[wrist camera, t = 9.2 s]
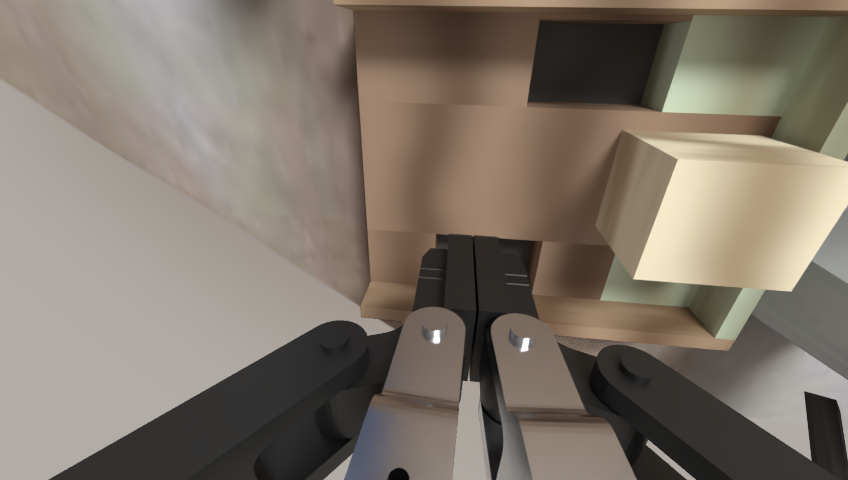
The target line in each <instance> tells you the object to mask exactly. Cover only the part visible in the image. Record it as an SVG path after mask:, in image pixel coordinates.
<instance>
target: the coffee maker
mask: <svg viewBox="0 0 848 480" xmlns="http://www.w3.org/2000/svg"><path fill="white" fill-rule="evenodd" d="M751 315H752V316H753V317H755V318H756V319H758V320H759V321H761V322H762V323H764V324H765V325H767V326H768V327H770V328H771V329H773V330H774V331H776V332H777V333H779V334H780V335H782V336H783V337H785V338H786V339H788V340H789V341H791V342H792V343H794V344H795V345H797V346H798V347H800V348H801V349H803V350H804V351H806V352H807V353H808V354H810V355H811V356H813V357H814V358H816V359H817V360H819V361H820V362H822V363H823V364H825V365H826V366H828V367H829V368H831V369H832V370H834V371H835V372H837V373H838V374H840V375H841V376H843V377H844V378H846V379H847V380H848V205H847V207H846V208H845V210H844V211H843V213H842V215H841V216H840V218H839V219H838V221H837V222H836V224H835V225H834V227H833V228H832V230H831V231H830V233H829V235H828V236H827V238H826V239H825V241H824V242H823V244H822V245H821V247H820V248H819V250H818V251H817V253H816V254H815V256H814V258H813V259H812V261H811V262H810V264H809V265H808V267H807V268H806V270H805V271H804V273H803V274H802V276H801V278H800V279H799V281H798V282H797V284H796V285H795V287H794V288H793V290H792V291H791V292H790V291H777V290H765V291H764V293H763V295H762V296H761V298H760V300H759V301H758V303H757V305H756V306H755V308H754V310H753V311H752V313H751ZM804 393H805V403H806V412H807V421H808V431H809V440H810V449H811V458H812V462H814V463H815V464H817V465H818V466H820V467H821V468H823V469H824V470H826V471H827V472H829V473H830V474H832V475H833V476H835V477H837V478H838V479H840V480H848V459H847V453H846V446H845V440H844V434H843V426H842V420H841V413H840V409H839V406H838V404H837V401H836V400H834V399H831V398H827V397H823V396H819V395H816V394H812V393H808V392H805V391H804Z"/></svg>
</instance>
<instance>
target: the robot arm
mask: <svg viewBox="0 0 848 480" xmlns="http://www.w3.org/2000/svg"><path fill="white" fill-rule="evenodd" d="M469 364H470V381H474V382H480V401H479V407H478V413H479V422H480V428H481V429H480V430H481V437H482V445H483V453H484V460H485V468H486V476H487V480H686V479H685V478H684V477H683V476H682V475H681V474H679V473H678V472H677V471H676V470H675V469H673V468H672V467H671V466H670V465H669V464H668V463H666V462H665V461H664V460H663V459H662V458H660V457H659V456H658V455H657V454H656V453H655V452H654V451H652V450H651V449H650V448H648V446H646V443H647V441H648V440H649V441H651V442H652V443H653V444H654V445H655V446H657V447H658V448H659V449H660V450H662V451H663V452H664V453H665V454H666V455H667V456H669V457H670V458H671V459H672V460H673V461H675V462H676V463H677V464H678V465H680V466H681V467H682V468H683V469H685V471H686V472H688V473H689V474H690V475H691V476H692V477H694V478H695V479H696V480H840V479H838V478H837V477H835V476H833V475H832V474H830V473H829V472H827V471H826V470H824V469H823V468H821V467H820V466H818V465H817V464H815V463H814V462H812V461H811V460H809V459H808V458H806V457H805V456H803V455H802V454H800V453H798V452H797V451H796V450H794V449H792V448H791V447H789V446H788V445H786V444H785V443H783V442H782V441H780V440H779V439H777V438H776V437H774V436H773V435H771V434H770V433H768V432H767V431H765V430H764V429H762V428H760V427H759V426H757V425H756V424H754V423H753V422H752V421H750V420H749V419H747V418H746V417H744V416H742V415H741V414H739V413H738V412H736V411H735V410H733V409H732V408H730V407H729V406H727V405H726V404H724V403H723V402H721V401H720V400H718V399H717V398H715V397H714V396H712V395H711V394H709V393H708V392H706V391H705V390H703V389H702V388H700V387H698V386H697V385H695V384H694V383H692V382H691V381H689V380H688V379H686V378H685V377H683V376H682V375H680V374H679V373H677V372H676V371H674V370H673V369H671V368H670V367H668V366H667V365H665V364H664V363H662V362H661V361H659V360H658V359H656V358H654V357H653V356H651V355H650V354H648V353H646V352H644V351H642V350H639V349H637V348H634V347H630V346H625V345H611V346H607V347H605V348H603V349H602V350H601V351H600V352H599V354H598V356H597V357H595V356H592V355H589V354H586V353H583V352H580V351H577V350H574V349H571V348H568V347H566V346H564V345H562V344H560V343H559V342H557V341H556V338H555V336H554V334H553V332H552V331H551V330H550V328H549V327H548V326H547V325H546V324H544V323H543V322H542V321H540V320H539V316H538V313H537V309H536V306H535V302H534V298H533V295H532V291H531V288H530V286H529V281H528V277H527V273H526V270H525V266H524V263H523V262H522V261H521V260H520V259H519V258H518V257H517V256H516V255H515V254H512V253H501V251H500V246H499V241H498V237H495V236H479V235H474V236H473V242H472V235H463V234H449V238H448V249H438V248H430V249H429V250H428V251H427V252H426V253H425V254H424V255H423V256H422V261H421V267H420V272H419V278H418V283H417V289H416V294H415V300H414V305H413V311H412V313H411V314H410V315H409V316H408V317H407V318H406V320H405V322H404V325H402V326H401V327H399V328H397V329H395V330H393V331H390V332H387V333H382V334H376V335H370V336H367V334H366V332H365V331H364V329H363V328H362V327H361V326H359V325H358V324H355V323H353V322H350V321H331V322H327V323H324V324H321V325H319V326H317V327H315V328H314V329H312V330H310V331H309V332H307V333H305V334H303V335H301V336H300V337H298V338H296V339H294V340H293V341H291V342H289V343H287V344H286V345H284V346H282V347H280V348H279V349H277V350H275V351H273V352H272V353H270V354H268V355H267V356H265V357H263V358H261V359H259V360H258V361H256V362H254V363H252V364H251V365H249V366H248V367H245V368H244V369H242V370H240V371H238V372H237V373H235V374H233V375H231V376H230V377H228V378H226V379H224V380H223V381H221V382H219V383H217V384H216V385H214V386H212V387H210V388H209V389H207V390H205V391H203V392H201V393H200V394H198V395H196V396H194V397H193V398H191V399H189V400H187V401H186V402H184V403H182V404H180V405H179V406H177V407H175V408H173V409H172V410H170V411H168V412H166V413H165V414H163V415H161V416H160V417H158V418H156V419H154V420H153V421H151V422H149V423H147V424H146V425H144V426H142V427H140V428H138V429H137V430H135V431H133V432H131V433H130V434H128V435H126V436H125V437H123V438H121V439H119V440H117V441H116V442H114V443H112V444H110V445H109V446H107V447H105V448H104V449H102V450H100V451H98V452H96V453H95V454H93V455H91V456H89V457H88V458H86V459H84V460H82V461H81V462H79V463H77V464H76V465H74V466H72V467H70V468H68V469H67V470H65V471H63V472H61V473H60V474H58V475H56V476H54V477H53V478H51V479H49V480H323V479H324V478H326V477H327V476H328V475H329V474H330V473H331V472H332V471H333V470H335V469H336V468H337V467H338V466H339V465H340V464H341V463H342V462H343V461H345V460H346V459H347V458H348V457H349V456H350V455H351V454H352V453H353V455H352V459H351V461H350V464H349V467H348V470H347V473H346V476H345V479H344V480H452V478H453V467H454V455H455V445H456V433H457V423H458V411H459V402H460V399H461V391H462V383H463V381H467V379H468V371H469Z"/></svg>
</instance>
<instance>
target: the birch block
mask: <svg viewBox="0 0 848 480" xmlns="http://www.w3.org/2000/svg"><path fill="white" fill-rule="evenodd" d="M847 205H848V162H847V161H844V160H840V159H837V158H834V157H830V156H827V155H824V154H820V153H817V152H814V151H810V150H807V149H804V148H800V147H797V146H794V145H790V144H787V143H784V142H781V141H777V140H774V139H771V138H767V137H764V136H759V135H736V134H712V133H689V132H665V131H642V130H622V133H621V137H620V140H619V144H618V147H617V151H616V154H615V158H614V161H613V165H612V168H611V172H610V175H609V179H608V182H607V186H606V189H605V193H604V196H603V200H602V203H601V207H600V210H599V214H598V217H597V221H596V224H595V226H596V228H597V229H598V230H599V232H600V233H601V235H602V236H603V237H604V239H605V240H606V242H607V243H608V245H609V246H610V247H611V249H612V250H613V252H614V253H615V254H616V256H617V257H618V259H619V260H620V261H621V263H622V264H623V266H624V267H625V269H626V270H627V271H628V273H629V274H630V276H631V277H632V278H633V279H636V280H649V281H662V282H675V283H688V284H700V285H713V286H726V287H739V288H752V289H764V290H777V291H790V292H791V291H792V290H793V288H794V287H795V285H796V284H797V282H798V281H799V279H800V278H801V276H802V274H803V273H804V271H805V270H806V268H807V267H808V265H809V264H810V262H811V261H812V259H813V258H814V256H815V254H816V253H817V251H818V250H819V248H820V247H821V245H822V244H823V242H824V241H825V239H826V238H827V236H828V235H829V233H830V231H831V230H832V228H833V227H834V225H835V224H836V222H837V221H838V219H839V218H840V216H841V215H842V213H843V211H844V210H845V208H846V207H847Z"/></svg>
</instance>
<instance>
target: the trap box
mask: <svg viewBox="0 0 848 480" xmlns="http://www.w3.org/2000/svg"><path fill="white" fill-rule="evenodd" d="M334 5H337V6H340V7H343V8H347V9H350V10H353V17H354V32H355V48H356V63H357V78H358V93H359V109H360V124H361V139H362V155H363V170H364V185H365V200H366V216H367V231H368V246H369V262H370V277H371V282H370V284H369V287H368V289H367V291H366V294H365V296H364V299H363V301H362V303H361V306H360V310H361V317H363V318H374V319H385V320H396V321H405V320H406V318H407V317H408V316H409V315H410V314H411V313H412V311H413V305H414V300H415V294H416V289H417V283H418V278H419V272H420V267H421V261H422V256H423V255H424V254H425V253H426V252H427V251H428V250H429V249H430V248H438V249H448V238H449V234H463V235H472V242H473V236H474V235H479V236H495V237H498V241H499V246H500V251H501V253H512V254H515V255H516V256H517V257H518V258H519V259H520V260H521V261H522V262H523V263H524V266H525V270H526V273H527V277H528V281H529V286H530V288H531V291H532V295H533V298H534V302H535V306H536V309H537V313H538V316H539V320H540V321H542V322H543V323H544V324H546V325H547V326H548V327H549V328H550V330H551V331H552V332H553V334H554V335H559V336H570V337H581V338H592V339H602V340H613V341H624V342H635V343H646V344H657V345H668V346H679V347H690V348H700V349H711V350H722V351H729V349H730V348H731V346H732V344H733V343H734V341H735V340H736V338H737V336H738V335H739V333H740V331H741V330H742V328H743V326H744V325H745V323H746V321H747V320H748V318H749V316H750V315H751V313H752V311H753V310H754V308H755V306H756V305H757V303H758V301H759V300H760V298H761V296H762V295H763V293H764V291H765V290H764V289H752V288H739V287H726V286H713V285H700V284H688V283H675V282H662V281H649V280H636V279H633V278H632V277H631V276H630V274H629V273H628V271H627V270H626V269H625V267H624V266H623V264H622V263H621V261H620V260H619V259H618V257H617V256H616V254H615V253H614V252H613V250H612V249H611V247H610V246H609V245H608V243H607V242H606V240H605V239H604V237H603V236H602V235H601V233H600V232H599V230H598V229H597V228H596V226H595V224H596V221H597V217H598V214H599V210H600V207H601V203H602V200H603V196H604V193H605V189H606V186H607V182H608V179H609V175H610V172H611V168H612V165H613V161H614V158H615V154H616V151H617V147H618V144H619V140H620V137H621V133H622V130H642V131H665V132H689V133H712V134H736V135H759V136H764V137H767V138H771V139H774V140H777V141H781V142H784V143H787V144H790V145H794V146H797V147H800V148H804V149H807V150H810V151H814V152H817V153H820V154H824V155H827V156H830V157H834V158H837V159H840V160H844V159H845V157H846V155H847V154H848V0H334Z"/></svg>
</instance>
